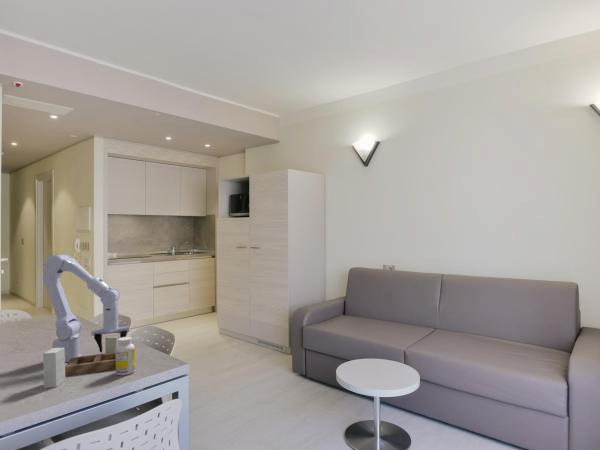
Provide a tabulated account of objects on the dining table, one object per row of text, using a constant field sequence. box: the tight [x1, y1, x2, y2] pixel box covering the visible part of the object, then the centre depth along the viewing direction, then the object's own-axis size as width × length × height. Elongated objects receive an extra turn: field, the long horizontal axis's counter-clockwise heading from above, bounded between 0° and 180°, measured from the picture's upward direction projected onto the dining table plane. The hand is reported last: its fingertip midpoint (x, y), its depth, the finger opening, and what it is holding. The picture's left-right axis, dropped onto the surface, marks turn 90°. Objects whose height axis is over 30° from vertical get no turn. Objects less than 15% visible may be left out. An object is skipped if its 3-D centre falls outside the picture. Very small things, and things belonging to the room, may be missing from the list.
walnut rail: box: [65, 352, 116, 377], centre depth 150 cm, size 20×11×3 cm, turn 112°
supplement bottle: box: [115, 336, 136, 376], centre depth 143 cm, size 7×7×13 cm
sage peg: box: [104, 335, 118, 354], centre depth 162 cm, size 4×4×8 cm
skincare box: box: [42, 347, 66, 389], centre depth 133 cm, size 6×4×12 cm
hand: (111, 350), depth 162 cm, fingers open, 7 cm apart
